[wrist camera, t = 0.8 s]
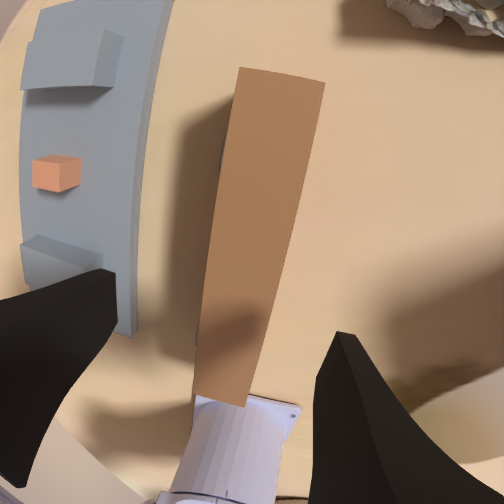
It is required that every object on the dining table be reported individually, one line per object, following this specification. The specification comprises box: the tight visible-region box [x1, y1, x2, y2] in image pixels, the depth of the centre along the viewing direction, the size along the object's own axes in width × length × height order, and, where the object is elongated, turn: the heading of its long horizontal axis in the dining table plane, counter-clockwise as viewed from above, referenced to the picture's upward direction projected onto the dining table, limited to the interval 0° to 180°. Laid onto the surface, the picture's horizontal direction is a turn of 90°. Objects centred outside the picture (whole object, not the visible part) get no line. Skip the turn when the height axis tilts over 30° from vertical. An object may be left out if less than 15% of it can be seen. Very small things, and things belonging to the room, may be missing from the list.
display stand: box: [19, 0, 174, 338], centre depth 16 cm, size 22×10×3 cm, turn 169°
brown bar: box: [192, 67, 325, 408], centre depth 15 cm, size 16×3×5 cm, turn 169°
